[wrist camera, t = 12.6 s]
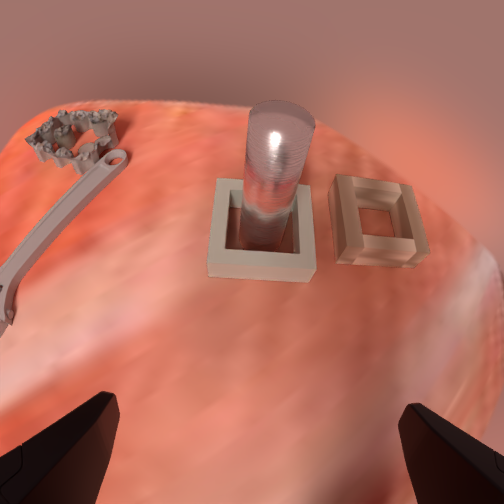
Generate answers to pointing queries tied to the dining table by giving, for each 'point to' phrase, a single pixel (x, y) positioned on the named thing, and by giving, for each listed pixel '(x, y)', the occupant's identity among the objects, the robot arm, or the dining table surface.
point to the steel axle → (272, 171)
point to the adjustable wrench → (54, 228)
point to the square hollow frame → (258, 262)
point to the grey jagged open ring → (64, 136)
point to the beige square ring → (369, 246)
